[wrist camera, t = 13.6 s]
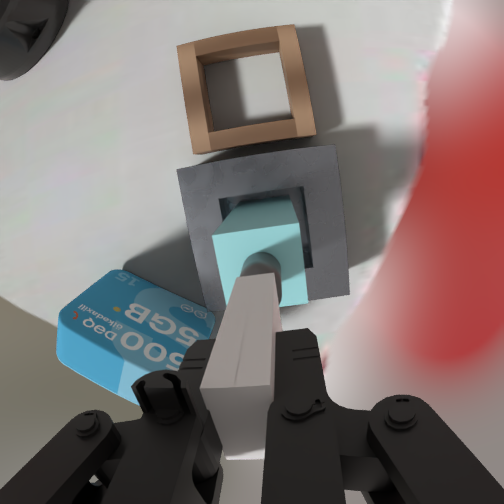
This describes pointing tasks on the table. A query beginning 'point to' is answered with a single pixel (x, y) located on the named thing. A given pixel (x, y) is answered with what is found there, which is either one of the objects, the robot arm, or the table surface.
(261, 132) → the square wooden frame
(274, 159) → the port block
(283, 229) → the plug
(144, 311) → the data package
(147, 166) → the table surface
